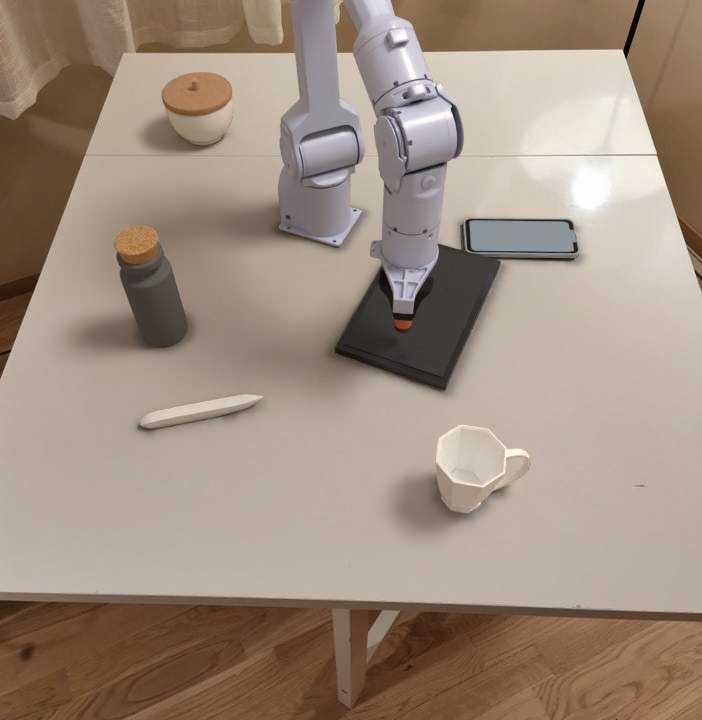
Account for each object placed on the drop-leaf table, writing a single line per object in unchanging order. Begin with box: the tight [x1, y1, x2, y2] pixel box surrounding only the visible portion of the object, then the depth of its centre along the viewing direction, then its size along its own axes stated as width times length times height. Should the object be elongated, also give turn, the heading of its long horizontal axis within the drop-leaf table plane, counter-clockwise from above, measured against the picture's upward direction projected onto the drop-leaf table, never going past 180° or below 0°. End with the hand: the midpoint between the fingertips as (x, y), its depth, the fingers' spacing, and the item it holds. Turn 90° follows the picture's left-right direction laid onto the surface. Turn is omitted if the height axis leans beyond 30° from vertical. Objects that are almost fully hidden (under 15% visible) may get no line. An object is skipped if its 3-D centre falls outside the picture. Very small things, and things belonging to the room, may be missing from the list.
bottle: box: [113, 225, 189, 349], centre depth 82 cm, size 6×6×15 cm
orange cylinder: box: [394, 320, 412, 333], centre depth 79 cm, size 2×2×8 cm
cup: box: [434, 423, 531, 514], centre depth 70 cm, size 7×10×8 cm
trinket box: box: [160, 71, 234, 146], centre depth 110 cm, size 11×11×9 cm
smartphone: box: [462, 217, 581, 259], centre depth 96 cm, size 7×1×15 cm
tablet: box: [334, 243, 502, 392], centre depth 89 cm, size 14×22×1 cm, turn 156°
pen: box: [139, 393, 264, 429], centre depth 79 cm, size 2×14×2 cm, turn 102°
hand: (404, 309), depth 80 cm, fingers closed on orange cylinder, 2 cm apart
